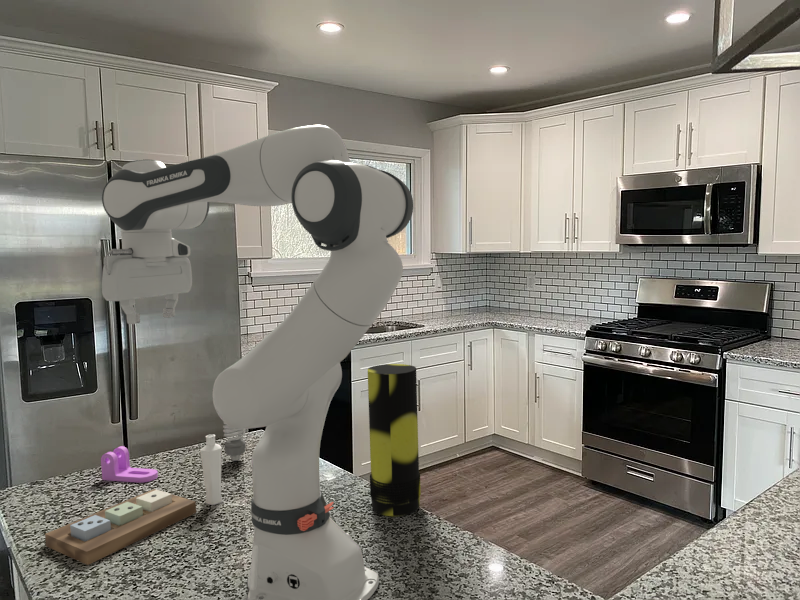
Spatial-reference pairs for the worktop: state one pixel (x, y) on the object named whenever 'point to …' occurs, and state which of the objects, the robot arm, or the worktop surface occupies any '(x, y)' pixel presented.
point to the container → (393, 439)
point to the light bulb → (234, 442)
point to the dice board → (119, 531)
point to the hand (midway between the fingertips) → (152, 320)
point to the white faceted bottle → (212, 470)
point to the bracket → (124, 468)
